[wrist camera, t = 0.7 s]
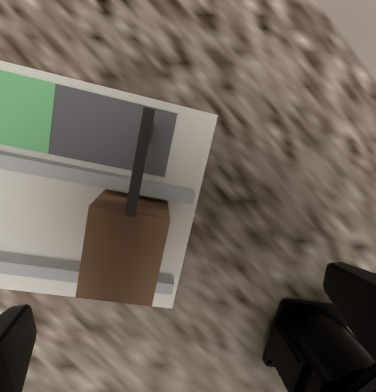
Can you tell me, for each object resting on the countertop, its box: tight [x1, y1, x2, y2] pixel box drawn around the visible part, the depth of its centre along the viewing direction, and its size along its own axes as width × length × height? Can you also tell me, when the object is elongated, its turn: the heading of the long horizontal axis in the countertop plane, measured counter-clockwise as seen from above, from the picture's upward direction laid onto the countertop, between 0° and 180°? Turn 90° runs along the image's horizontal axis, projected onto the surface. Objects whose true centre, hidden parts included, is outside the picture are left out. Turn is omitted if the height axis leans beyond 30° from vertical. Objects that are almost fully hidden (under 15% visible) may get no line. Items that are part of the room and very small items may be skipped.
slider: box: [75, 107, 170, 306], centre depth 14 cm, size 4×10×4 cm, turn 167°
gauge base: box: [0, 60, 218, 308], centre depth 15 cm, size 19×14×5 cm
